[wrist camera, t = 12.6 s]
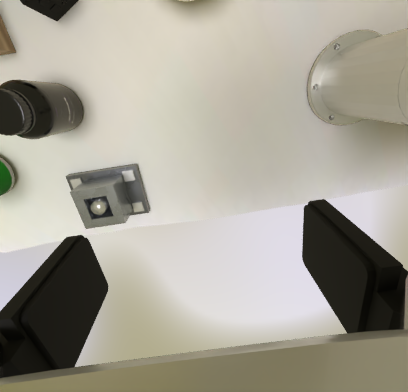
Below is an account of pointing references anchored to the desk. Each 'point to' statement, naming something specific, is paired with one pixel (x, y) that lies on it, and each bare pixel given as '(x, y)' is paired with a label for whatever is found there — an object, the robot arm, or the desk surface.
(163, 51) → the desk surface
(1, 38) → the organizer frame
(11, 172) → the soda can
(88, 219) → the block
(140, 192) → the stand
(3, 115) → the supplement bottle
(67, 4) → the digital camera
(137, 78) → the desk surface
